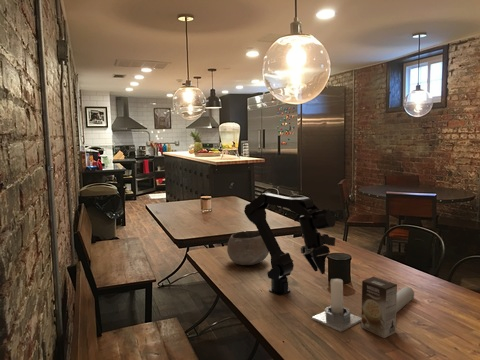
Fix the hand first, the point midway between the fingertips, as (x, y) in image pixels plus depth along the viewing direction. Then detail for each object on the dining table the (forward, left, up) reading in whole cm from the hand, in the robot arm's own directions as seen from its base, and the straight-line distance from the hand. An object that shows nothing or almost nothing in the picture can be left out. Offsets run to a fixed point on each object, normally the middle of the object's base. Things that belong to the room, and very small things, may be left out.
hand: (319, 272), depth 146 cm
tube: (+20, +19, -13) cm, 31 cm away
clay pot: (-55, +12, -13) cm, 58 cm away
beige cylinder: (+12, -5, -11) cm, 17 cm away
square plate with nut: (+12, -5, -12) cm, 18 cm away
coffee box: (+25, -1, -13) cm, 28 cm away
